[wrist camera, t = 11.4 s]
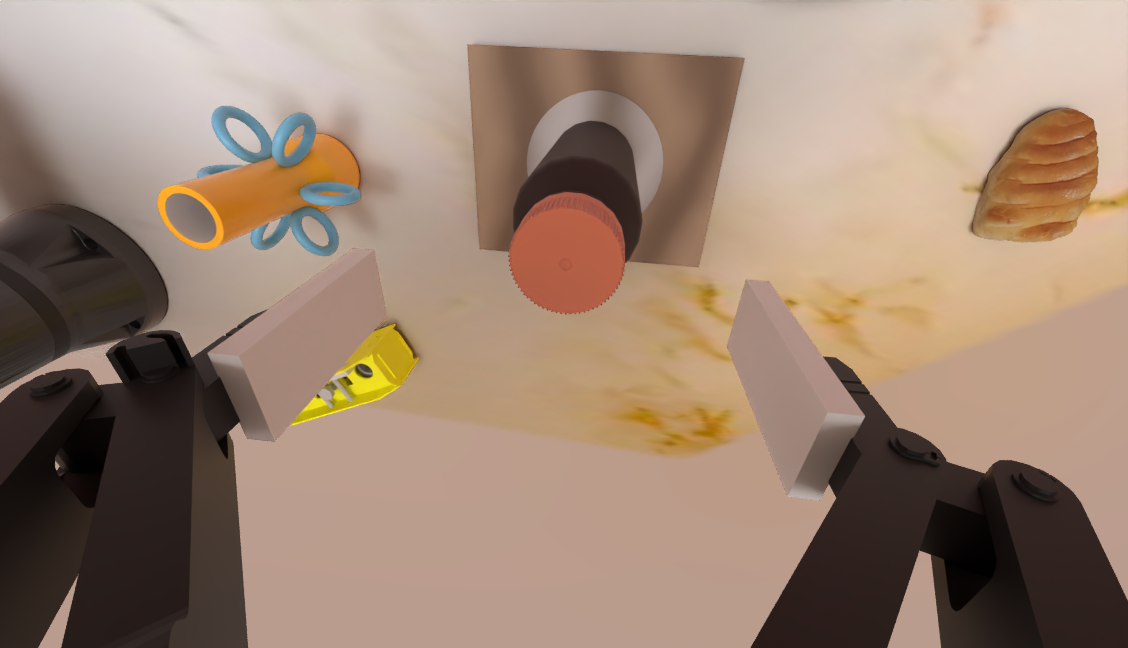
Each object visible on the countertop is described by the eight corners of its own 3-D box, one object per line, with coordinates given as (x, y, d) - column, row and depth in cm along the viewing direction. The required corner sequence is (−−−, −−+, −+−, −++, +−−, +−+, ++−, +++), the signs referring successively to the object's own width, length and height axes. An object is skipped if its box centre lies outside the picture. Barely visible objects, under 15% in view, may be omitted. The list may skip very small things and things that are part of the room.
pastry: (993, 117, 32) (1035, 124, 29) (1101, 98, 31) (1158, 102, 28) (961, 237, 37) (995, 254, 34) (1055, 224, 36) (1100, 240, 32)
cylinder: (413, 207, 41) (319, 273, 28) (331, 247, 44) (212, 324, 31) (328, 69, 35) (163, 73, 23) (241, 127, 39) (53, 159, 26)
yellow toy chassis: (395, 316, 47) (355, 361, 40) (423, 356, 50) (390, 405, 43) (287, 355, 52) (235, 401, 45) (318, 390, 55) (273, 439, 47)
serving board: (484, 243, 42) (478, 250, 40) (473, 45, 33) (465, 44, 32) (695, 260, 40) (699, 268, 39) (739, 58, 32) (746, 58, 30)
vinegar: (634, 205, 36) (647, 332, 19) (554, 209, 37) (499, 334, 20) (634, 116, 33) (649, 175, 16) (546, 123, 34) (471, 186, 17)
